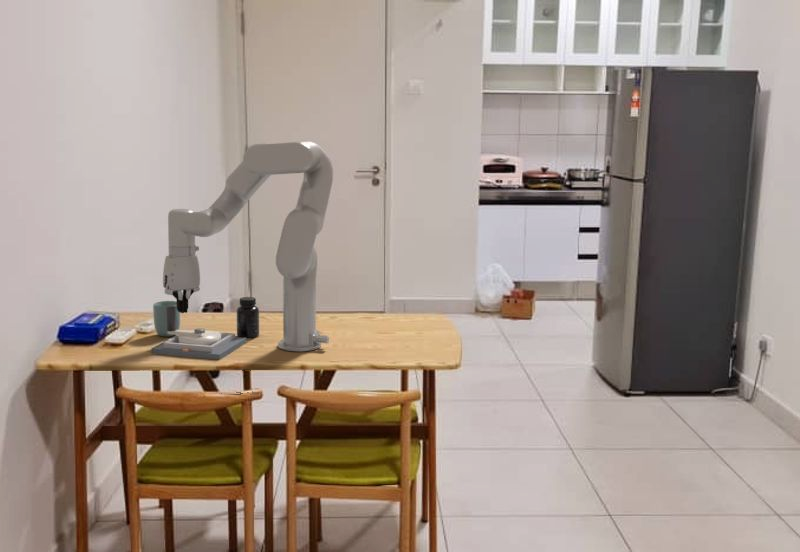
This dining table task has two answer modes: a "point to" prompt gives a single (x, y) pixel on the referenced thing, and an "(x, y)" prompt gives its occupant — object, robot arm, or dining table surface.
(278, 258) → the robot arm
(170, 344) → the board
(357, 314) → the dining table surface
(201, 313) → the dining table surface
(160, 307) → the cup
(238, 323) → the supplement bottle
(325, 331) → the dining table surface
